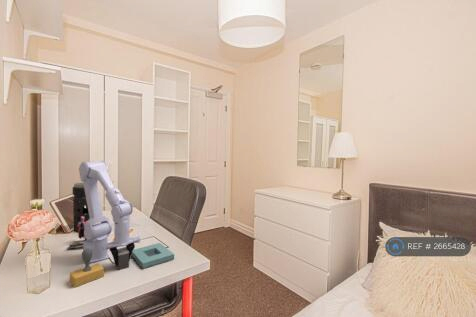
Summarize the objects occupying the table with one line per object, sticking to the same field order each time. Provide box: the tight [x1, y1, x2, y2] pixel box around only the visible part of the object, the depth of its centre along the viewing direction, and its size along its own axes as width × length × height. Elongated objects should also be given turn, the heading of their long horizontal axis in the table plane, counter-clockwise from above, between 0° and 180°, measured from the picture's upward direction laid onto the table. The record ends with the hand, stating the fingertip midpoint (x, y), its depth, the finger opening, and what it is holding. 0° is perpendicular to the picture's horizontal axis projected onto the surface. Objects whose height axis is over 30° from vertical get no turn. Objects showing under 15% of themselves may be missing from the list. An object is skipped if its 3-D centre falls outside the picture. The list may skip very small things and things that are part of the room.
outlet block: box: [130, 242, 175, 270], centre depth 110 cm, size 14×16×2 cm
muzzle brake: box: [72, 182, 90, 234], centre depth 142 cm, size 10×28×10 cm
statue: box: [66, 216, 87, 250], centre depth 121 cm, size 11×9×15 cm
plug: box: [114, 246, 130, 271], centre depth 101 cm, size 4×5×7 cm
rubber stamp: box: [69, 248, 105, 288], centre depth 91 cm, size 10×6×12 cm, turn 140°
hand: (122, 262), depth 101 cm, fingers closed on plug, 4 cm apart
